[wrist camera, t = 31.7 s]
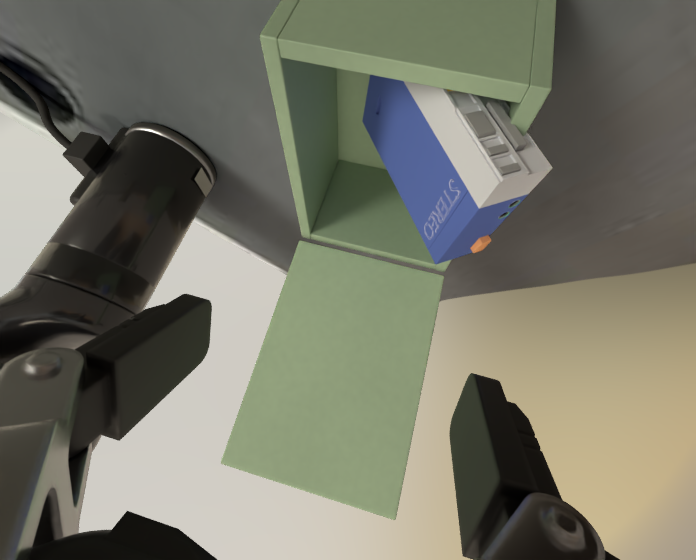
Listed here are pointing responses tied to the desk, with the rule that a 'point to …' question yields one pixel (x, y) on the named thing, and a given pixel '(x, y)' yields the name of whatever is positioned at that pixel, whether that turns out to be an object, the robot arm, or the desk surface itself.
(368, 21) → the bin
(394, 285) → the lid
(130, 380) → the robot arm
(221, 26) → the desk surface
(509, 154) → the walkman
